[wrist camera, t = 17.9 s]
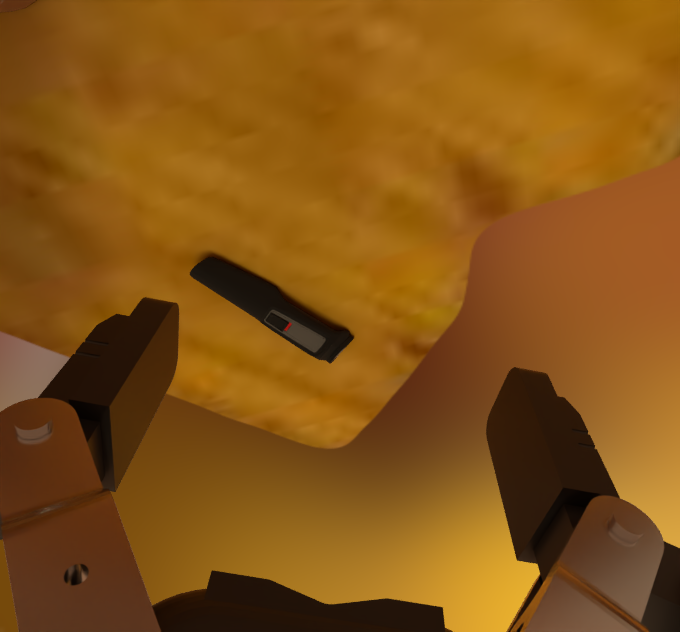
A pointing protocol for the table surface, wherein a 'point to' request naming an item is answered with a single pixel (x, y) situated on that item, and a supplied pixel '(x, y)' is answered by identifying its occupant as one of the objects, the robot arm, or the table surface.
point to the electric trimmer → (271, 309)
